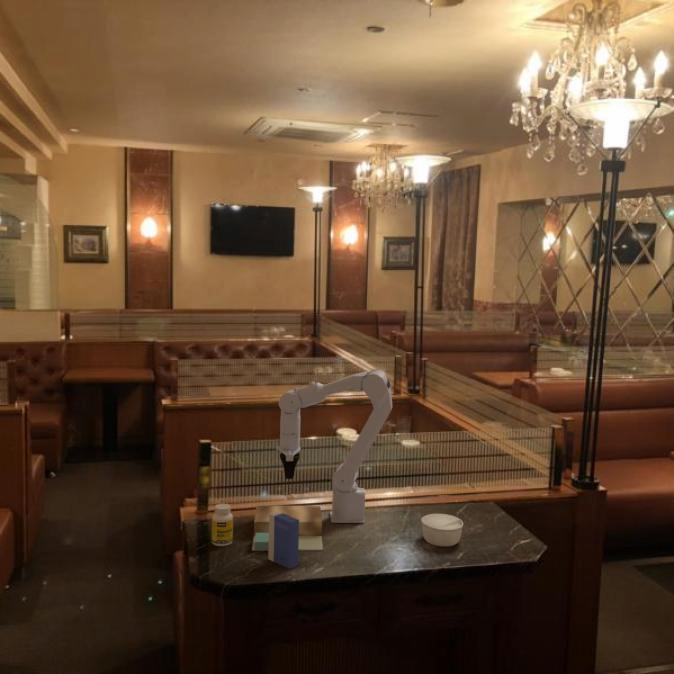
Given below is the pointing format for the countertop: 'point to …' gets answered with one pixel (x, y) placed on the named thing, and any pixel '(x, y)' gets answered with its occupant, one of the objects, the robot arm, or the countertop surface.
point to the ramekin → (441, 529)
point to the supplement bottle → (222, 525)
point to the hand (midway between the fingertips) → (289, 478)
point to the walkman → (283, 539)
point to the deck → (306, 514)
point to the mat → (304, 543)
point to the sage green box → (262, 541)
